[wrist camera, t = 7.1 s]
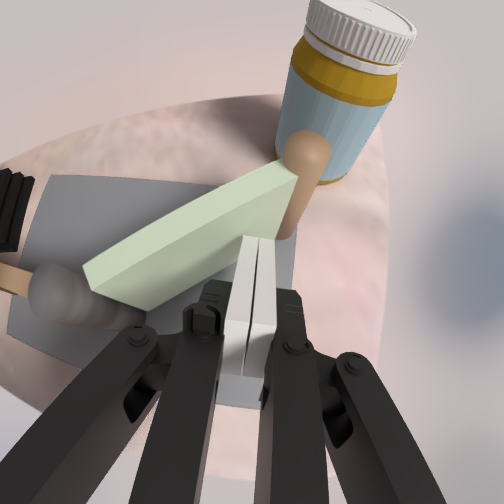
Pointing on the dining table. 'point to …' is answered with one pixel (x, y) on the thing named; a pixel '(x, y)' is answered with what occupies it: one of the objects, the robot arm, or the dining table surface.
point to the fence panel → (211, 228)
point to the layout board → (101, 239)
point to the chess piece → (13, 207)
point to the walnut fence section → (67, 298)
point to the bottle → (343, 76)
